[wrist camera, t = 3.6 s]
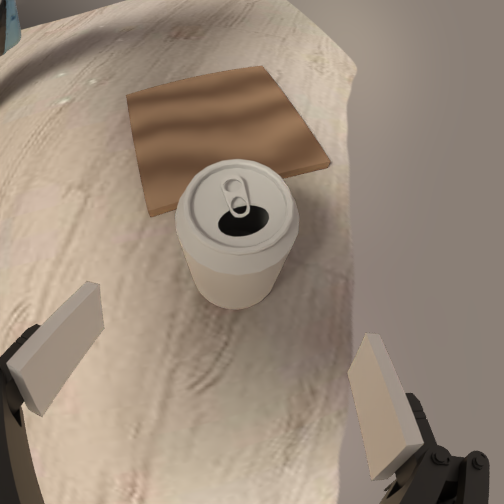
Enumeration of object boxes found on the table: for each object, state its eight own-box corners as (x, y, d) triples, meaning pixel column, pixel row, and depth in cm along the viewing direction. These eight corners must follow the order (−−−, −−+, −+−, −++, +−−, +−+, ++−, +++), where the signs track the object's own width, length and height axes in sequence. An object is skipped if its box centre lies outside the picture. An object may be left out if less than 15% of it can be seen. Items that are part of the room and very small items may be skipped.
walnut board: (127, 101, 35) (126, 95, 34) (261, 71, 39) (262, 65, 38) (150, 217, 29) (148, 211, 28) (327, 167, 33) (330, 161, 32)
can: (206, 322, 25) (189, 283, 14) (183, 246, 28) (159, 166, 17) (287, 296, 27) (328, 240, 16) (259, 224, 29) (276, 138, 18)
